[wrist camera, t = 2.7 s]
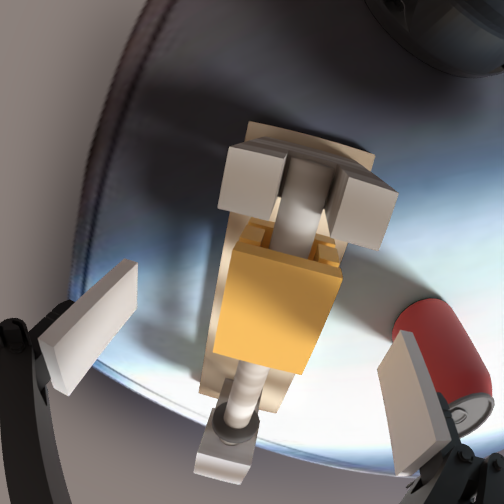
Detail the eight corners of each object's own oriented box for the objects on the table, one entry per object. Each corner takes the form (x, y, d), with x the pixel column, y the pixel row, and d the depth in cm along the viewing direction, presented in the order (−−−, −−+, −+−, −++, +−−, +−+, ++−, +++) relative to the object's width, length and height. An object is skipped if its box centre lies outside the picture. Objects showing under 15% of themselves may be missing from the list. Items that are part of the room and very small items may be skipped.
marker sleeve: (251, 216, 17) (232, 249, 13) (334, 238, 17) (343, 278, 13) (232, 303, 20) (212, 352, 15) (304, 322, 19) (301, 375, 15)
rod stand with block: (252, 121, 21) (199, 119, 10) (370, 153, 21) (434, 184, 10) (202, 383, 33) (168, 469, 22) (277, 403, 32) (263, 493, 22)
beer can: (435, 281, 24) (492, 375, 13) (460, 324, 25) (506, 413, 14) (378, 322, 26) (403, 428, 15) (408, 360, 27) (434, 456, 17)
